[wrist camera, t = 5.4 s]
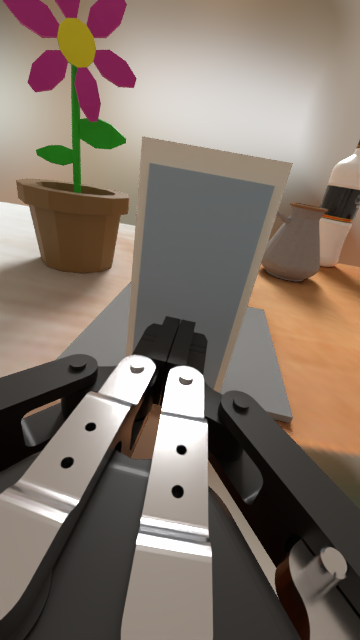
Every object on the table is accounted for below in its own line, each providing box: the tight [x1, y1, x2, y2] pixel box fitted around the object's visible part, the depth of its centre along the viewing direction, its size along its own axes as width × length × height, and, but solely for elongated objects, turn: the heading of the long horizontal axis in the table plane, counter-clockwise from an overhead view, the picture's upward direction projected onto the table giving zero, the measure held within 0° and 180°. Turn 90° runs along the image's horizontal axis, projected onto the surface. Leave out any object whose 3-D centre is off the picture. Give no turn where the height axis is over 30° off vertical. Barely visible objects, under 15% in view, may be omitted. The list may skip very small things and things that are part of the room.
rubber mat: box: [56, 282, 293, 423], centre depth 28 cm, size 18×18×1 cm
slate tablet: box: [126, 137, 292, 393], centre depth 17 cm, size 7×2×15 cm, turn 81°
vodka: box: [319, 141, 360, 267], centre depth 61 cm, size 9×9×30 cm
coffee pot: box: [261, 202, 328, 281], centre depth 49 cm, size 21×12×15 cm, turn 98°
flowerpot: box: [3, 0, 136, 273], centre depth 34 cm, size 14×14×30 cm
